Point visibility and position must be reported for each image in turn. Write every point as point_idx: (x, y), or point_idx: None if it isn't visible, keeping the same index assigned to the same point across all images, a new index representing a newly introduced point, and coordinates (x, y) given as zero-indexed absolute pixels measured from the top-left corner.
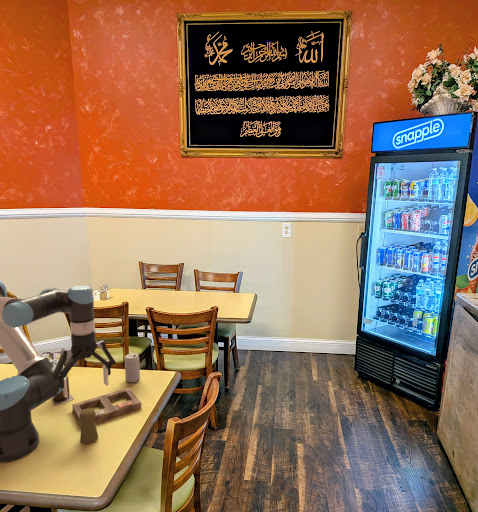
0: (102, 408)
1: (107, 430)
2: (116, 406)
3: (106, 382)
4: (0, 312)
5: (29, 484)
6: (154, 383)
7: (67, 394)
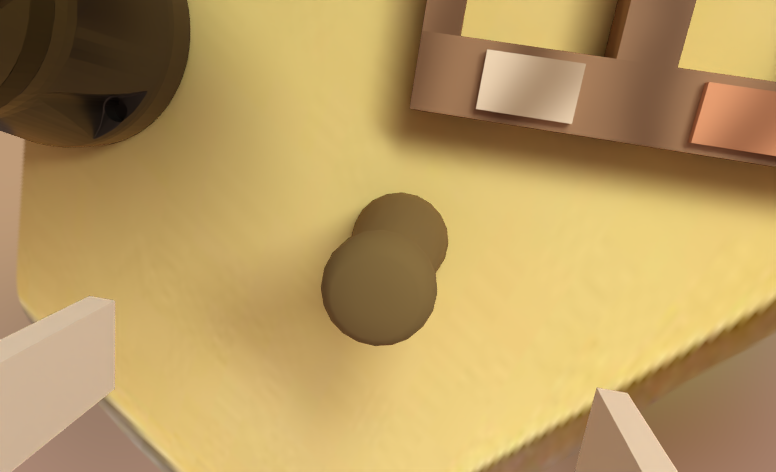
0: None
1: (512, 240)
2: (687, 96)
3: None
4: None
5: None
6: None
7: (88, 408)
